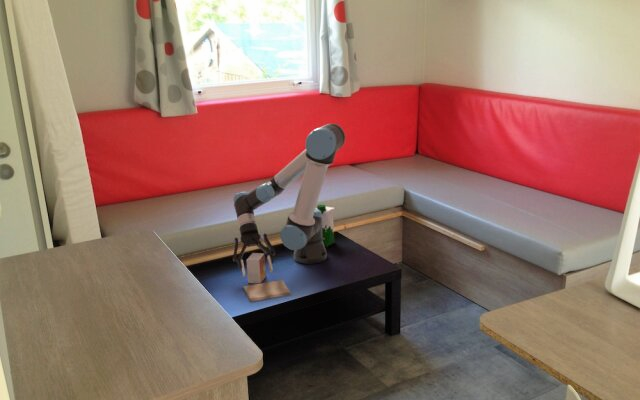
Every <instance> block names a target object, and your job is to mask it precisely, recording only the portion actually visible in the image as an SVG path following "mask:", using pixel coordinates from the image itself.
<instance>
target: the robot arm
mask: <svg viewBox="0 0 640 400" xmlns="http://www.w3.org/2000/svg"><path fill="white" fill-rule="evenodd" d="M345 142H346V133H345V130H344V129H343V128H342V126H340V125H339V124H336V123H326V124H325V125H323V126H320V127H317V128H315V129H313V130H312V131H311V132H310V133H308V135H307V137H306V138H305V142H304V143H305V144H304V145H305V149H304V150H303V151H301V152H300V154H298V155H297V156H296V157H295V158H294V159H293V160H291V161H290V162H289V163H288V164H287V165H286V166H284V167H283V168H282V169H281V170H279V172H278V173H276V174H275V175H274V176H273V177H272V178H271V179H269V180H268V181H267V182H265V183H262V184H260V185H258V186H257V187H256V188H254V189H253V190H252V191H250V192H247V191H241V192H238V193H236V194H235V195H234V196H233V206H234V209H235V214H236V219H237V225H238V228H239V232H240V233H239V234H240V237H239V238H238V237H235V238H234V249H233V255H232V256H233V257H232V261H233V262H237V264H238V269H239V270H241V273H242V277H246V276H247V275H246V270H245V265H244V260H243V256H244V254H245V251H246V249H247V247H255V246H256V247H257V248H259V249H260V250H261V251H262V252H263V253H264V254H265V255H266V256H267V257H266V260H267V264H268V268H269V271H270V273H272V272H273V270H274V268H273V263H274V257H273V256H275V255H276V253H277V251H276V250H275V248H274V246H273V245H272V243H271V242H270V240H269V239H268V235H267V233H264V234H259V230H258V229H259V228H258V226H257V220H256V217H255V213H254V210H257V209H258V208H260V207H262V206H263V205H265V204H267V203H268V202H270V201H271V200H273V199H274V198H276V197H277V196H279V195H281V194H282V193H283V192H284V190H286V189H287V188H288V187H290V186H291V185H292V184H293V183H294V182H295V181H296V180H298V179H299V178H300V177H301V176H302V180H301V183H300V187H299V190H298V193H297V194H298V195H297V197H296V201H295V204H294V208H293V210H292V211H291V212H289V213H288V217H287V218H286V219H287V220H286V223H285V225H284V226H283V227H282V228H281V230H280V232H279V237H280V241H281V243H282V244H283V245H284V247H286V248H287V249H289V250H291V251H294V252H293V259H294V261H295V262H298V263H300V264H305V265H306V264H307V265H308V264H309V265H311V264H318V263H322V262H324V261H326V260H327V258H328V252H327V250H326V247H325V246H324V244H323V239H322V213H321V211H320V210H318V209H316V208H317V206H318V205H317V204H318V201H319V197H320V195H321V191H322V187H323V185H324V180H325V178H326V174H327V171H328V168H329V166H332V165H333V164H334V161H335V158H336V154H337V151H339V150H340V149H342V148H343V146H344V145H345ZM260 239H261V240H262V241H263V242H264V243H265V245H266V246H265V245H264V244H263V242H261V240H260ZM241 242H242V244H243V245H242V247H241V250H240V253H239V255H238V248H239V244H240V243H241ZM237 255H238V257H237Z"/></svg>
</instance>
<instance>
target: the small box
mask: <svg viewBox="0 0 640 400" xmlns="http://www.w3.org/2000/svg"><path fill="white" fill-rule="evenodd" d="M265 255H266V254H265V253H264V252H263V253H262V252H252V253H251V254H250V255H249V256H248V258H246V261H245V262H246V272H247V282H248V284H261V283H263V281H264V279H265V278H266V277H267V272H266V271H267V269H266V256H265Z"/></svg>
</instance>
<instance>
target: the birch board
mask: <svg viewBox="0 0 640 400" xmlns="http://www.w3.org/2000/svg"><path fill="white" fill-rule="evenodd" d="M243 290H244V292H245V294H246V296H247V298H248V300H249V302H250V303H252V302H256V301H263V300H267V299H273V298H274V299H275V298H278V297H285V296H290V295H291V291H290V289H289V287H288V285H286V283H285V282H284V280H283V279H281V280H280V279H279V280H274V281H273V280H272V281H268V282H267V281H266V282H261V284H259V283H254V284H250V285H244V286H243Z"/></svg>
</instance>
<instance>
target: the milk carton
mask: <svg viewBox="0 0 640 400" xmlns="http://www.w3.org/2000/svg"><path fill="white" fill-rule="evenodd" d="M315 209H318V210H320V211H321V213H322V239H323V244H324V246H326V247H325V248H328V246H329V245H330V246H332V245H333V244H335V243H334V242H335V232H334V231H335V230H334V229H335V227H334V226H335V225H334V222H335V221H334V214H335V207H332V206H331V207H330V206H327V205H326V204H318V205H316V208H315ZM332 243H333V244H332ZM331 244H332V245H331ZM330 246H329V247H330Z"/></svg>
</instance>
